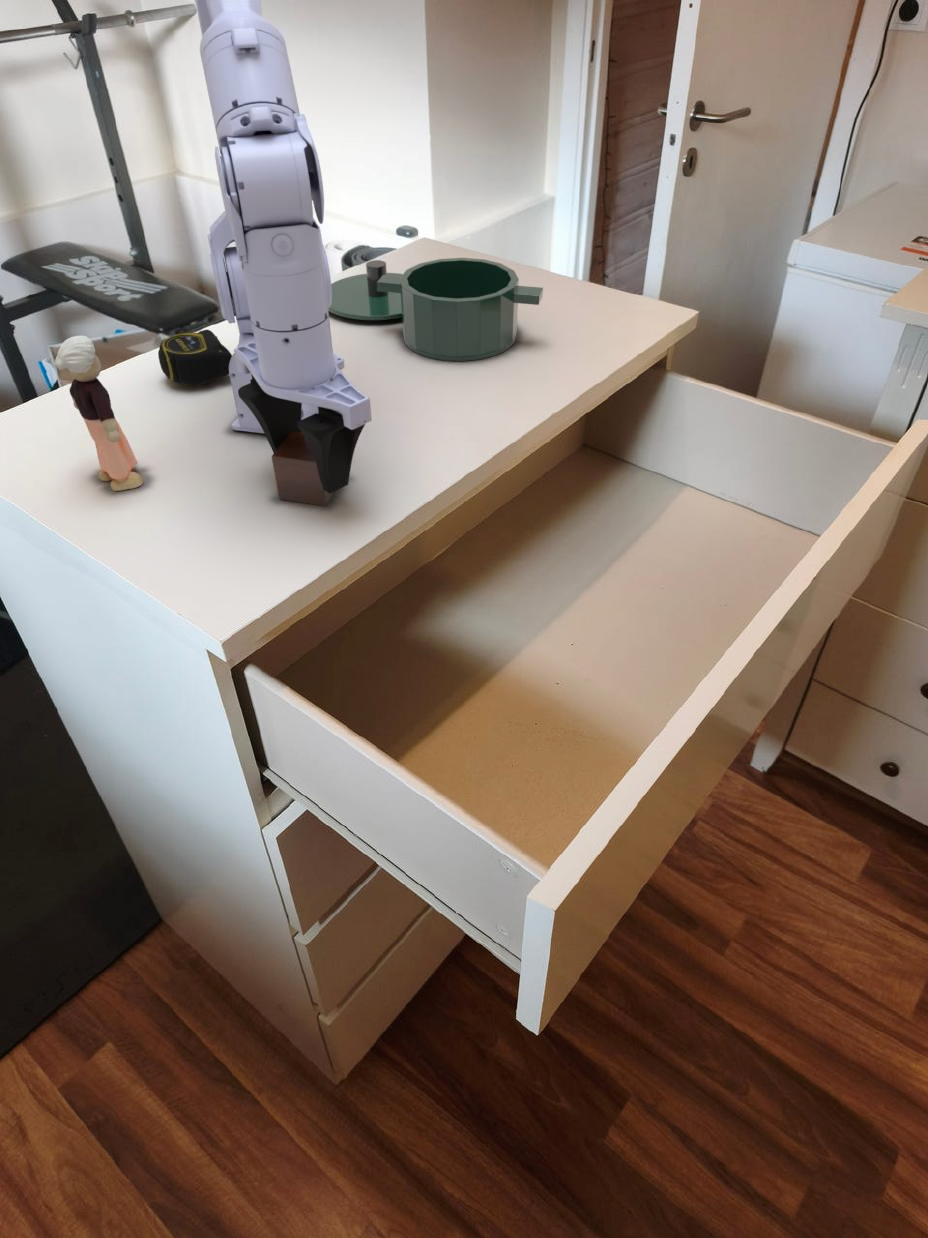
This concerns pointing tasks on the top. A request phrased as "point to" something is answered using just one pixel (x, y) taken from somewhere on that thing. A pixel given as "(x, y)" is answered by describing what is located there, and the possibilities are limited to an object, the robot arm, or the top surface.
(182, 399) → the top surface
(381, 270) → the pot lid
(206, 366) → the tape measure
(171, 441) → the top surface
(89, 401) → the grandmother figurine
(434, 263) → the pot
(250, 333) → the robot arm
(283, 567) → the top surface
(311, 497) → the block
